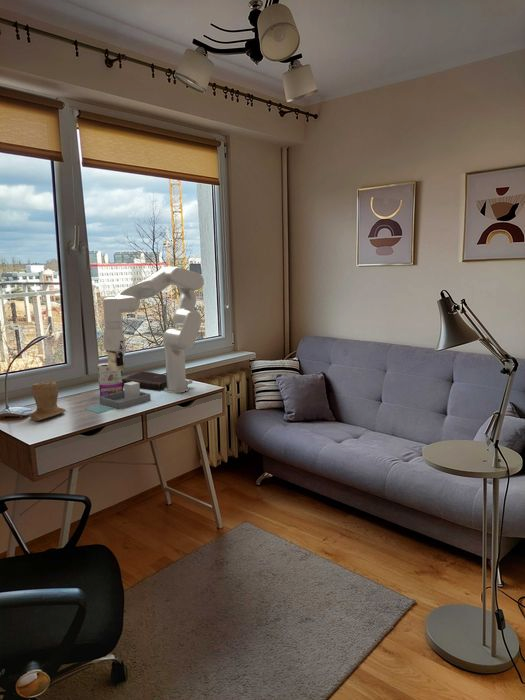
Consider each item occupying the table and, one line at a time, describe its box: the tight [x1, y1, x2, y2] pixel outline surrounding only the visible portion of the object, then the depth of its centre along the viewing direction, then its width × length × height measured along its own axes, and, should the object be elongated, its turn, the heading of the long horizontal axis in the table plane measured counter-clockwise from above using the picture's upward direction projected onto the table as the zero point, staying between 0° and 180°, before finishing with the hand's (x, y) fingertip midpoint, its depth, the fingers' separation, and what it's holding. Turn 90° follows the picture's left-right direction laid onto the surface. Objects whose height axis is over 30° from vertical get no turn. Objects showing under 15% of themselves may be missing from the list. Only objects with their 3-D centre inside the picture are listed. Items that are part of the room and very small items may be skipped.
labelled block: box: [106, 351, 125, 371], centre depth 225 cm, size 5×5×8 cm
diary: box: [122, 370, 167, 392], centre depth 263 cm, size 19×25×5 cm
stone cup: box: [28, 381, 67, 422], centre depth 212 cm, size 15×12×15 cm
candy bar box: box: [96, 362, 124, 398], centre depth 242 cm, size 11×5×16 cm, turn 112°
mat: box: [84, 404, 114, 415], centre depth 221 cm, size 8×10×1 cm
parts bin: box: [99, 390, 152, 410], centre depth 232 cm, size 18×15×4 cm
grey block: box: [123, 381, 141, 400], centre depth 234 cm, size 5×5×8 cm
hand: (116, 364), depth 226 cm, fingers closed on labelled block, 5 cm apart
